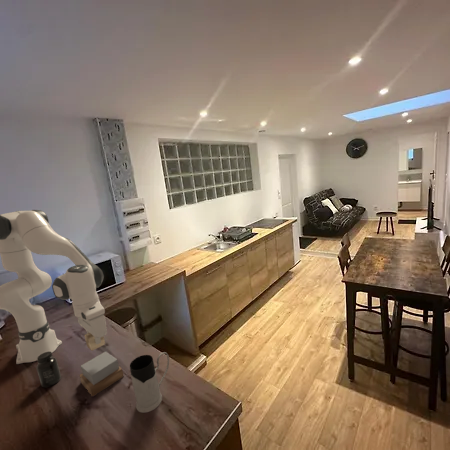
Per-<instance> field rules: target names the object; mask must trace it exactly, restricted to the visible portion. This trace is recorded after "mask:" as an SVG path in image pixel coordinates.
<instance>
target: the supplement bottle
mask: <svg viewBox="0 0 450 450" xmlns="http://www.w3.org/2000/svg"><path fill="white" fill-rule="evenodd" d="M37 359H38V360H37V365H36V372H37V375H38V378H39V382H40V385H41V387H42V388H50V387H52V386H53V385H55V384H57V383H58V382H60V380H61V378H62V375H61V371H60V367H59V363H58V360H57V358H56V357H54V356H53V352H52V353H51V352H45V353H43V354H41V355H39V356H38V358H37Z"/></svg>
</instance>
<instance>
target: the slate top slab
mask: <svg viewBox="0 0 450 450" xmlns="http://www.w3.org/2000/svg"><path fill="white" fill-rule="evenodd" d="M119 367H120V365H119V360H118V358H116V357H115V356H113V355H112V354H110V353H109V352H108V351H104V352H102V353H101V354H99V355H97V356H95V357H93V358H92V359H90V360H88V361H86V362H85V363H83V364H81V365H80V368H81V369H80V370H81V372H82V373H83V375H84V376H85V377H86V378H87V379H88V380H89V381H90V382H91V383H92V384H93V385H95V384H96V383H98V382H100V381H101V380H103V379H104V378H106V377H107V376H109V375H110V374H112V373H113V372H115V371H116V370H118V369H119ZM82 373H81V374H82Z"/></svg>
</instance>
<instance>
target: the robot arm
mask: <svg viewBox="0 0 450 450" xmlns="http://www.w3.org/2000/svg"><path fill="white" fill-rule="evenodd" d="M47 215H48V214H46V213H45V212H44V211H43V210H41V209H40V210H38V209H32V210H16V211H13V212H6V213H2V214H0V261H1V264H2V268H3V269H4V270H5V271H8V272H11V273H16V275H17V278H15V279H13V280H11V281H8V282H5V283H3V284H1V285H0V310H2V311H3V310H4V311H6V312H8V313H10V314H11V315H12V316H13V317H14V319H15V320H14V321H15V322H16V325H17V329H18V338H19V343H17V344H16V345H15V347H16V350H17V356H16V365H19V364H23V363H24V364H25V363H32V362H36V361H38V359H37V358H38V356H39V355H41V354H43V353H45V352H51V353H52V354H53V353H54V352H55V351H56V350H57V349H58V348H59V346H61V345H62V344H63V342H62V340H60V339H58V338H57V335H56V332H55V329H51V327H50V323H49V321H48V320H47V316H46V312H45V309H44V307H43V306H41V305H39V304H32V303H31V302H30V299H32V298H34V297H36V296H39V295H41V294H43V293H45V292H46V291H47V290H49V289H50V288H51V287H52V291H53V295H54V297H55V298H57V299H59V300H62V301H63V300H64V301H68V300H71V304H72V307H73V309H72V310H73V313H74V316H75V318H77V321H78V325H80V326H81V327H82V328H84V330H85V331H86V334H87V333H91V334H92V335H93V336H94V338H95V339H94V341H95V343H96V344H99V343H101V339H100V338H101V337H103V336H104V337H105V336H106V335H107V334H108V330H107V323H106V318H105V314H106V313H105V312H106V310H105V308H104V306H103V304H101V301H100V297H99V295H98V292H97V288H98V289H99V287H101V286H102V284H103V281H104V277H105V275H104V272H103V270H102V269H101V268H100V267H99V266H98V265H96V263H94V262H92V261H91V259H90V258H89V257H87V255H86V254H85V253H84V252H83V251H82V250H81V249H80V248H79V247H78V246H77V245H76V244H75V243H74V242H73V241H72V240H71V239H69V238H67V237H63V236H62V235H60V234H59V233H57V231H55V230H54V229H53V227H52V226H51V225H50V223H49V217H48V216H47ZM32 253H33V254H37V255H42V256H43V255H44V256H47V255H48V256H51V255H52V256H63V257H66V258H68V259H69V260H70V261H71V262H72V263H73V265H72V266H71V267H69V268H68V269H66V271H65V273H63V274H61V275H59V276H57V277H56V278H55V279H54V280H52V277H51V275H50V274H49V273H48V272H46V271H43V270H41V269H39V268H38V267H37V265H36V264H35V262H34V257H33V254H32ZM52 281H53V282H52Z"/></svg>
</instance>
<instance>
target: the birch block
mask: <svg viewBox="0 0 450 450" xmlns="http://www.w3.org/2000/svg"><path fill="white" fill-rule="evenodd" d="M84 339H85V343H86V347H87V348H88V349H89V350H90V351H95V350H97V349H99V348H101V347H102V346H104V345H106V342H105V336H103V337H101V338H100V339H101V343H99V344H96V343H95V341H94V339H95V338H94V336H93V335H92V334H91V333H87V332H86V334H84Z"/></svg>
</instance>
